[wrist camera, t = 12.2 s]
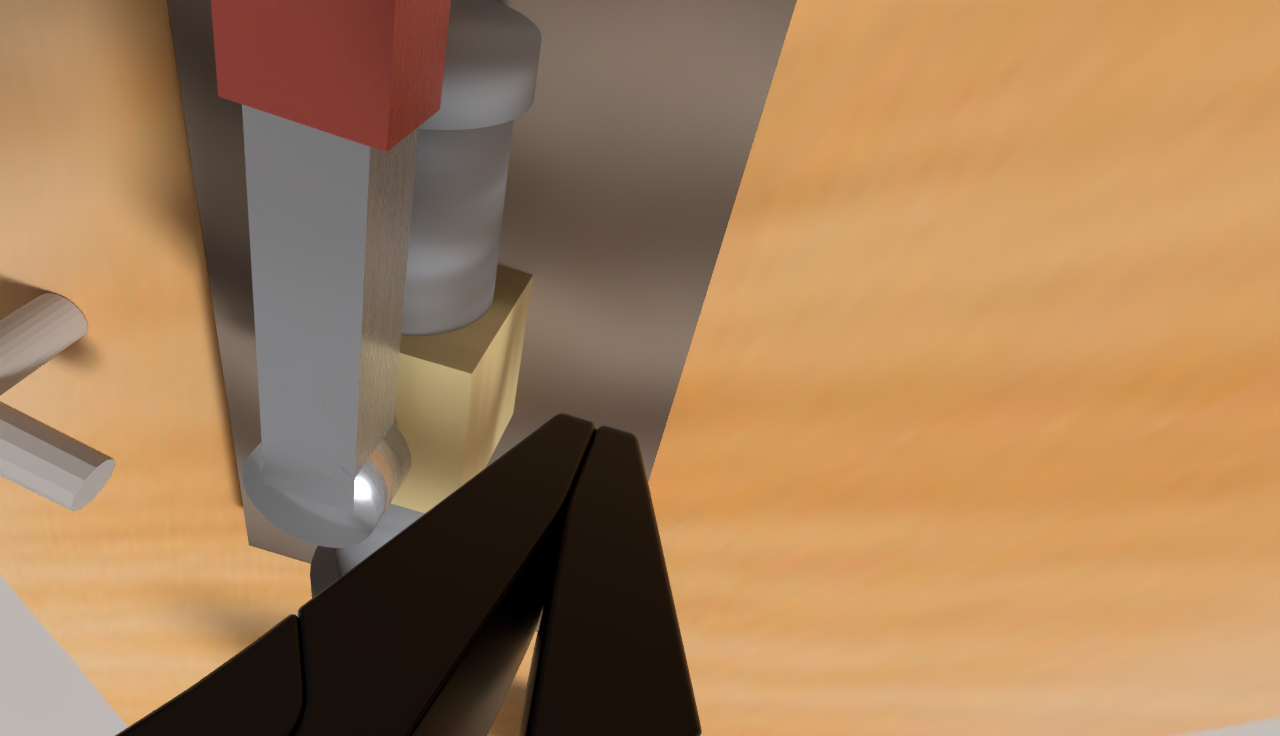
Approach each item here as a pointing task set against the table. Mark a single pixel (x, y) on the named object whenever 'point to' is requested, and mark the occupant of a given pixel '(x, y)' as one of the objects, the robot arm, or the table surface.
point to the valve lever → (329, 241)
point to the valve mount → (521, 227)
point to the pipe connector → (27, 444)
